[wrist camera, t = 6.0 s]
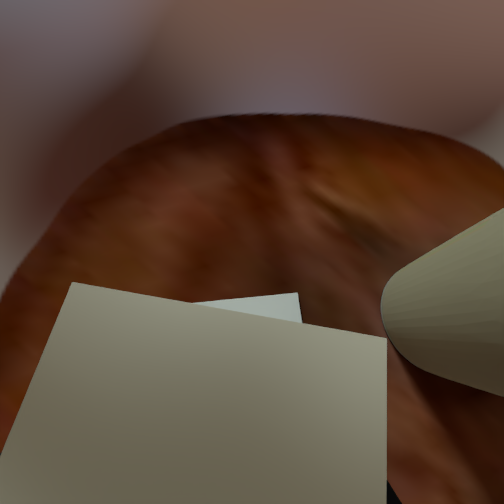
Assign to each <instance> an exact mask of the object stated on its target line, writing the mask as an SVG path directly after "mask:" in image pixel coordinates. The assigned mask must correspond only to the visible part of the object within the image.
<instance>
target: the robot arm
mask: <svg viewBox="0 0 504 504" xmlns="http://www.w3.org/2000/svg"><path fill="white" fill-rule="evenodd" d="M1 453H2V452H1ZM1 453H0V456H1ZM386 504H402V503H401V501H400V500H399V498H398V497H397V495H396V493H395V492H394V490H393V489H392V487H391V486H390V484H389V482H388V481H387V492H386Z"/></svg>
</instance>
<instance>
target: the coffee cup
mask: <svg viewBox="0 0 504 504" xmlns="http://www.w3.org/2000/svg"><path fill="white" fill-rule="evenodd" d="M381 316H382V321H383V325H384V328H385V331H386V333H387V335H388V337H389V339H390V340H391V342H392V344H393V345H394V346H395V347H396V349H397V350H398V351H399V352H400V353H401V354H402V355H403V356H404V357H405V358H406V359H407V360H408V361H410V362H411V363H412V364H414V365H415V366H417V367H419V368H421V369H422V370H424V371H427V372H429V373H432V374H435V375H437V376H440V377H443V378H446V379H449V380H452V381H455V382H458V383H461V384H465V385H468V386H471V387H474V388H477V389H480V390H483V391H486V392H490V393H493V394H496V395H499V396H502V397H504V208H503V209H501V210H499V211H497V212H496V213H494V214H492V215H491V216H489V217H487V218H486V219H484V220H482V221H480V222H479V223H477V224H475V225H474V226H472V227H470V228H469V229H467V230H465V231H463V232H462V233H460V234H458V235H457V236H455V237H453V238H452V239H450V240H448V241H447V242H445V243H443V244H442V245H440V246H438V247H437V248H435V249H433V250H432V251H430V252H428V253H427V254H425V255H423V256H422V257H420V258H418V259H417V260H415V261H413V262H412V263H410V264H408V265H407V266H405V267H404V268H402V269H401V270H399V271H398V272H397V273H395V274H394V275H393V276H392V277H391V279H390V280H389V281H388V283H387V284H386V286H385V288H384V291H383V294H382V298H381Z"/></svg>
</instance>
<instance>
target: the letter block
mask: <svg viewBox="0 0 504 504" xmlns="http://www.w3.org/2000/svg"><path fill="white" fill-rule="evenodd" d="M386 492H387V338H382V337H377V336H371V335H365V334H360V333H354V332H349V331H343V330H338V329H332V328H326V327H321V326H315V325H310V324H304V323H298V322H293V321H287V320H282V319H276V318H270V317H265V316H259V315H254V314H248V313H242V312H237V311H231V310H226V309H220V308H215V307H209V306H203V305H198V304H192V303H187V302H181V301H175V300H170V299H164V298H159V297H153V296H147V295H142V294H136V293H131V292H125V291H120V290H114V289H108V288H103V287H97V286H92V285H86V284H80V283H75V282H72V284H71V286H70V289H69V291H68V294H67V296H66V298H65V301H64V303H63V306H62V308H61V311H60V313H59V315H58V318H57V320H56V323H55V325H54V327H53V330H52V332H51V335H50V337H49V340H48V342H47V344H46V347H45V349H44V352H43V354H42V357H41V359H40V361H39V364H38V366H37V369H36V371H35V373H34V376H33V378H32V381H31V383H30V386H29V388H28V390H27V393H26V395H25V398H24V400H23V402H22V405H21V407H20V410H19V412H18V415H17V417H16V419H15V422H14V424H13V427H12V429H11V432H10V434H9V436H8V439H7V441H6V444H5V446H4V448H3V451H2V453H1V456H0V504H386Z"/></svg>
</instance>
